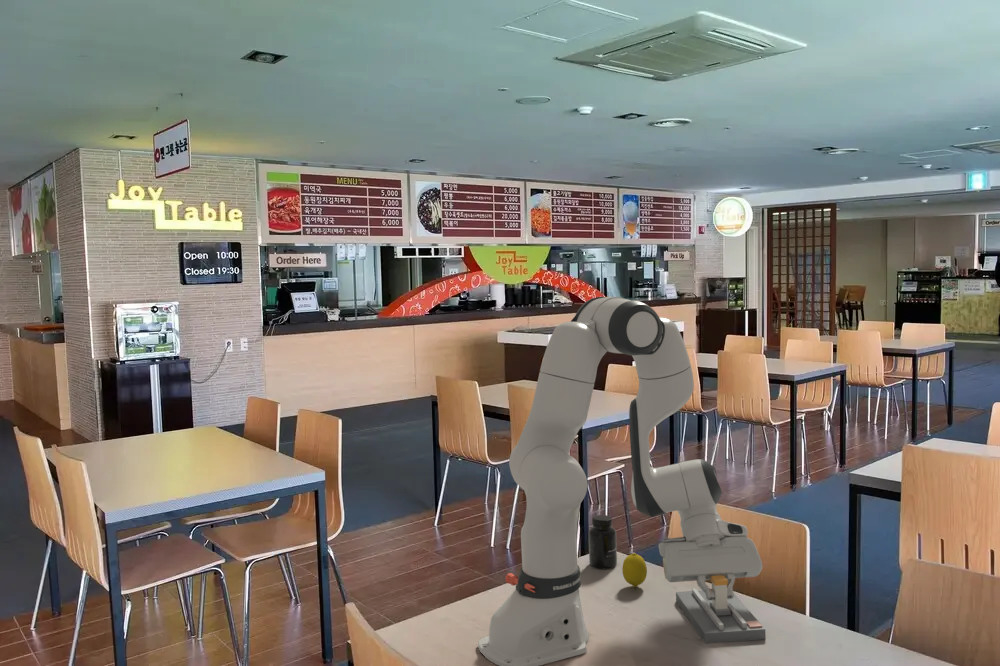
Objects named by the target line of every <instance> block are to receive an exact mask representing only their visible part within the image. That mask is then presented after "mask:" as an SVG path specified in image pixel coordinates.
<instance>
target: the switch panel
mask: <svg viewBox="0 0 1000 666" xmlns="http://www.w3.org/2000/svg"><path fill="white" fill-rule="evenodd" d="M675 602H676V603H677V604H678V607H680V609H681V610H682V612H683V613H684V615H685V617H686V618H687V619H688V620H689V622H690V624H691V625H692V627H693V628H694V630H695V631H696V632H697V634H698V635H699V637H700V639H701V640H702V641H703V643H704V644H714V643H715V644H717V643H729V642H730V643H731V642H740V641H742V642H743V641H755V640H757V641H758V640H766V628H765V627H764V626H763V625H762V623H760V621H759V620H758V619H757V618H756V617H755V616H754V615H753V613H752V612H751V610H749V609H748V608H747V606H746V605H745V604H744V602H742V600H741V599H740V598H739V597H738V596H737V594H735V593H734V597H733V599H727V603H728V608H729V609H730V612H731V615H722V616H717V615H716V614H715V613H714V612H713V610H712V609H711V608H710V603H712V600H707V599H706V595H705V593H704V592H703V591H702V589H700V590H697V588H694V587H693V588H691V590H689V591H686V590H685V591H676V592H675Z"/></svg>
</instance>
